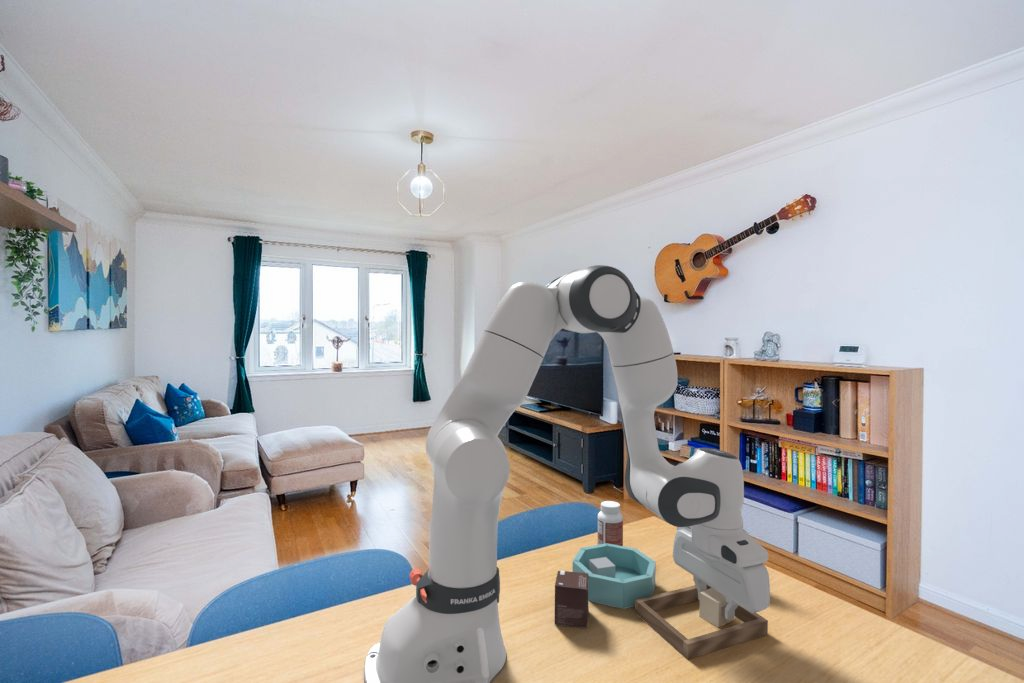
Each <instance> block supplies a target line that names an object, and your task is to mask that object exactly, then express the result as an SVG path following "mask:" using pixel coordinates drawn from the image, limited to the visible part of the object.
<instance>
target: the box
mask: <svg viewBox="0 0 1024 683" xmlns="http://www.w3.org/2000/svg"><path fill="white" fill-rule="evenodd" d="M588 580H589V575H588V573H580V572H573V571H567V570H566V571H565V570H557V573H556V578H555V583H554V625H556V626H563V627H571V628H580V629H587V628H588V623H589V601H588Z"/></svg>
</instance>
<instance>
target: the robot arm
mask: <svg viewBox="0 0 1024 683" xmlns="http://www.w3.org/2000/svg"><path fill="white" fill-rule="evenodd" d="M508 288H509V289H508V290H507V291H506V293H505V294H504V295H503V296H502V298H501V299H500V300H499V302H498V304H497V306H496V307H495V309H494V310H493V312H492V314H491V315H490V317H489V319H488V321H487V323H486V325H485V327H484V329H483V331H482V333H481V335H480V337H479V340H478V342H477V344H476V346H475V348H474V350H473V352H472V355H471V356H470V359H469V361H468V363H467V365H466V367H465V370H464V371H463V373H462V375H461V377H460V379H459V381H458V382H457V383H456V385H455V387H454V388H453V390H452V391H451V393H450V395H449V396H448V398H447V399H446V401H445V402H444V405H443V406H442V408H441V410H440V411H439V413H438V414H437V416H436V419H435V420H434V422H433V423H432V425H431V427H430V428H429V430H428V433H427V436H426V440H425V451H426V455H427V458H428V460H429V462H430V464H431V469H432V474H433V493H432V503H431V504H432V505H431V506H432V507H431V514H430V521H429V524H428V537H429V538H428V569H427V570H426V572H425V573H424V574H422V570H420V569H419V568H414V569H412V570H411V572H410V573H409V579H410V583H411V584H412V585H413V586H415V588H416V589H415V595H414V596H413V597H412V598H411V599H410V600H409V601H407V602H406V603H405V604H404V605H403V606H402V607H401V608H399V609H398V610H397V611H395V612H394V613H393V614H392V615H391V616H390V617H389V618H388V619H387V620H386V622H385V624H384V626H383V628H382V631H381V636H380V640H379V641H380V642H378V643H377V642H376V643H375V644H374V645H372V646H371V647H370V649H369V650H368V652H367V654H366V657H365V660H364V667H363V677H364V679H363V680H364V683H491V681H492V680H493V679H494V678H495V677H496V676H497V675H498V674H499V672H500V671H501V670H502V668H503V667H504V665H505V663H506V659H507V650H506V647H505V644H504V640H503V636H502V635H503V634H502V630H501V625H500V617H499V616H500V613H499V603H500V594H501V579H500V578H501V576H500V568H499V567H498V525H499V515H500V510H501V505H502V504H501V503H502V499H503V494H504V488H505V487H506V486H507V483H508V481H509V477H510V471H511V470H510V469H511V468H510V467H511V465H510V461H509V456H508V453H507V451H506V447H505V445H504V443H503V442H502V440H501V438H500V437H499V434H500V432H501V431H502V429H503V428H504V427H505V425H506V423H507V422H508V421H509V419H510V418H511V416H512V415H513V413H515V411H516V409H518V408H519V407H520V406H522V405H523V403H524V402H525V401H526V398H527V396H528V394H529V392H530V390H531V387H532V385H533V382H534V380H535V378H536V376H537V374H538V371H539V370H540V368H541V364H542V363H543V361H544V358H545V356H546V353H547V351H548V348H549V346H550V343H551V342H552V341H553V338H555V336H556V335H557V334H558V333H559V332H566V333H579V334H592V333H597V334H598V335H600V337H602V340H603V341H604V343H605V345H606V348H607V350H608V356H609V360H610V364H611V370H612V373H613V374H612V375H613V377H614V382H615V387H616V390H617V395H618V403H619V414H620V420H621V425H622V426H621V427H622V431H623V438H624V444H625V450H626V465H625V473H624V487H625V489H626V492H627V494H628V495H629V497H630V498H631V499H632V500H633V501H634V502H636V503H638V504H639V505H641V506H643V507H645V508H647V509H648V510H649V511H651V512H652V513H653V514H655V515H656V517H659V518H660V519H661V520H662V521H664V522H666V523H668V524H669V525H671V526H673V527H676V532H675V535H674V540H673V545H672V558H673V561H674V563H675V565H677V566H678V567H680V568H681V569H683V570H684V571H686V572H687V573H689V574H691V575H692V576H693V583H694V585H696V588H697V591H698V599H699V600H698V601H700V592H703V591H705V590H707V587H706V584H707V585H709V586H711V587H712V588H714V589H715V590H717V591H718V592H720V593H721V594H723V595H724V596H726V602H728V605H727V606H726V607H725V606H723V607H721V611H722V613H721V615H722V616H723V617H724V618H726V619H727V620H728V621H729V620H732V621H733V620H734V619H735V618H736V617H735V610H736V608H737V607H738V606H739V605H740V606H741V607H743V608H744V609H746V610H747V611H749V612H751V613H759V612H760V613H761V612H762V611H765V610H767V609H768V607H769V606H770V601H771V600H770V599H771V584H770V583H771V581H770V576H769V571H768V569H767V567H766V565H765V564H764V563H766V562H768V561H769V552H768V550H766V548H765V547H764V546H762V545H761V544H760V543H759V542H758V541H757V540H756V539H754V537H752V535H750V533H749V532H748V531H747V530H746V529H744V519H743V516H742V507H743V505H744V501H745V500H744V498H745V490H744V489H745V487H744V486H745V482H744V481H745V480H744V472H743V471H744V470H743V467H742V463H741V461H740V459H739V458H738V457H737V456H736V455H734V454H732V453H729V452H728V451H724V450H720V449H718V448H712V447H699V448H697V450H696V451H695V453H694V454H693V455H692V456H691V457H690V458H688V459H687V460H685V461H683V462H682V463H679V464H677V465H673V464H671V463H669V461H667V460H666V458H664V456H663V455H662V453H661V451H660V448H659V441H658V435H657V430H656V428H657V427H656V423H655V411H656V409H657V407H658V406H660V405H662V404H664V403H665V402H667V401H668V400H669V399H670V398H671V397H672V396H673V394H674V393H675V392H676V389H677V387H678V378H679V377H678V367H677V361H676V358H675V353H674V350H673V345H672V340H671V338H670V335H669V332H668V329H667V326H666V324H665V321H664V318H663V316H662V314H661V311H660V310H659V307H658V305H657V304H656V303H655V302H654V301H652V299H649V298H647V297H642V296H640V295H639V294H638V292H637V291H636V290H635V288H634V285H633V284H632V281H631V280H630V279H629V277H628V276H627V275H626V274H625V273H624V272H623V271H621V270H620V269H618V268H616V267H613V266H609V265H602V264H601V265H591V266H588V267H585V268H579V269H575V270H572V271H570V272H567V273H566V274H564V275H562V276H559V277H557V278H555V279H553V280H552V281H551V282H549V283H548V284H547V285H543V284H540V283H538V282H534V281H519V282H516V283H514V284H513V285H512V286H510V287H508Z"/></svg>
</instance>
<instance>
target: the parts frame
mask: <svg viewBox="0 0 1024 683" xmlns="http://www.w3.org/2000/svg"><path fill="white" fill-rule="evenodd" d="M706 587H707V589H710V588H712V587H711V586H709V585H707V584H706ZM696 601H700V600H699V599H698V591H697V588H696V585H695V584H693V585H691V586H690V585H689V586H686V587H682V588H677V589H674V590H670V591H666V592H662V593H657V594H653V596H649V597H644V598H640V599H636V600H635V606H634V613H635V614H636V615H637V616H638V617H639V618H640V619H641V620H642V621H644V623H646V624H647V625H648V626H649V627H650V628H652V630H654V631H655V632H656V633H657V634H658V635H659V636H660V637H661V638H663V639H664V640H665V641H666V642H667V643H668V644H669V645H670V646H672V647H673V648H674V649H675V650H677V651H678V653H680V654H681V655H682V656H683V657H684V658H685V659H686V660H688V661H689V660H690V659H693V658H696V657H697V658H698V657H700V656H702V655H706V654H710V653H713V652H716V651H719V650H722V649H724V648H729V647H731V646H735V645H738V644H742V643H744V642H748V641H750V640H754V639H757V638H760V637H764V636H767V635H768V634H769V633H768V632H769V631H768V630H769V629H768V628H769V624H768V623H769V621H768V619H767V618H765V617H763V615H760V614H759V613H758V612H756V613H751V612H749V611H747V610H746V609H744V608H743V607H741V606H740V605H739V606H738V607H737V608H736V610H735V618H737V619H739V620H740V621H741V622H742V623H739V624H735V625H731V626H728V627H725V628H722V629H717V630H716V631H712V632H708V633H706V634H702V635H698V636H695V637H691V638H688V637H686V636H685V635H684V634H682V633H681V632H680V631H679V630H678V629H676V628H675V626H673V625H672V624H670V622H669V621H668V620H665V619H664V618H663V617H662V616H661V615H660V614H658V613H657V612H658V611H662V610H666V609H668V608H672V607H677V606H681V605H685V604H689V603H692V602H696Z"/></svg>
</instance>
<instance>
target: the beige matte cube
mask: <svg viewBox="0 0 1024 683" xmlns="http://www.w3.org/2000/svg"><path fill="white" fill-rule="evenodd" d="M727 605H728V602H726V596H724V595H723V594H721V593H720V592H718V591H717V590H715V589H714V588H710V589H707V590H705V591H703V592H700V600H699V614H698V615H699V617H700V618H701V619H703V620H705V621H707V622H708V623H710V624H712V625H713V626H715V627H717V628H721V627H722V626H724V625H726V624H729V623H731V622H732V621H733V620H729V621H728V620H727V619H726V618H724V617H723V616H722V615H721V613H722V611H721V607H723V606H725V607H726V606H727Z"/></svg>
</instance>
